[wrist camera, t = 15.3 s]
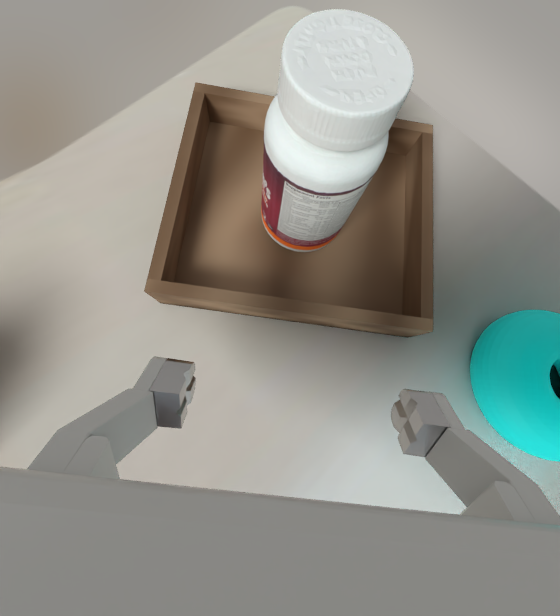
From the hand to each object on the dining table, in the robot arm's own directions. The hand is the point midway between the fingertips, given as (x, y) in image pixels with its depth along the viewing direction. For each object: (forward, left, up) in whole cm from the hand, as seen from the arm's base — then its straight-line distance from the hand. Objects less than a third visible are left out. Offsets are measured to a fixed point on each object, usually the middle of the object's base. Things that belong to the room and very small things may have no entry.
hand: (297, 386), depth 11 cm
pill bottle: (0, -12, -8) cm, 15 cm away
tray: (0, -12, -8) cm, 15 cm away
